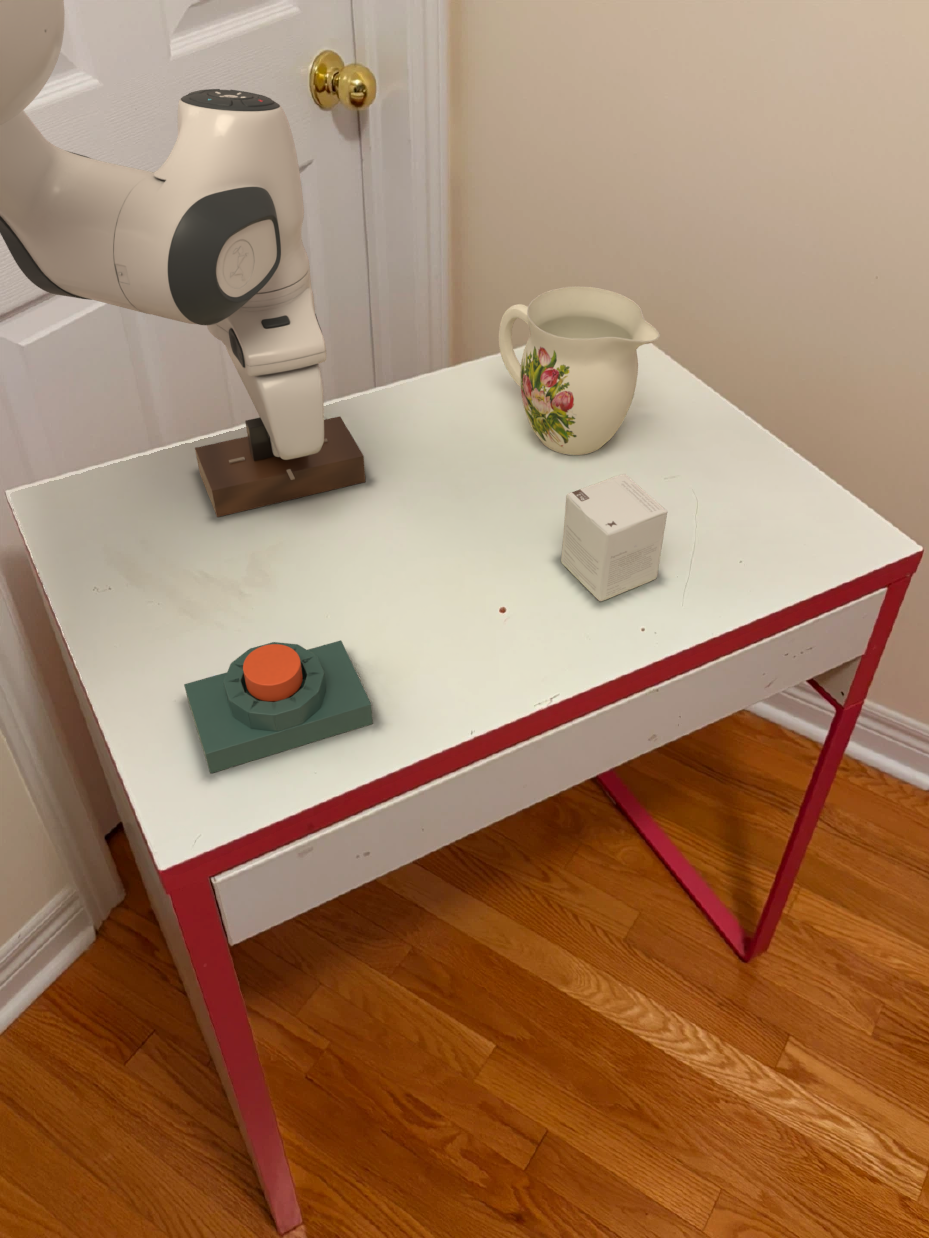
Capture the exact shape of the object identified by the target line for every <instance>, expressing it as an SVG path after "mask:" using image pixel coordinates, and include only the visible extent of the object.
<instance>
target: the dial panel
mask: <svg viewBox="0 0 929 1238" xmlns="http://www.w3.org/2000/svg"><path fill="white" fill-rule="evenodd" d="M194 452H195V457H196V461H197V465H198V471H199V475H200V477H201V481H202V483H203V485H204V488H205V490H206V493H207V496H208V497H209V500H210V503H211V506H212V508H213V511H214V512H215V515H216V518H220V517H224V516H229V515H233V514H236V513H240V512H241V513H242V512H246V511H249V510H254V509H258V508H261V507H266V506H270V505H275V504H278V503H283V502H287V501H292V500H296V499H300V498H304V497H308V496H313V495H317V494H321V493H325V492H329V491H332V490H337V489H342V488H346V487H350V486H355V485H358V484H363V483H366V469H365V468H366V467H365V456H364V454H363V452H362V451H361V449H360V447H359V446H358V444H357V442H356V440H355V439H354V437H353V435H352V433H351V432H350V430H349V429H348V427H347V425H346V424H345V422H344V419H342V417H341V415H340V416H335V417H330V418H326V419H325V418H324V442H323V445H322V448H321V450H320V451H319V452H318V453H315V454H312V455H307V456H303V457H299V458H294V459H289V460H284V459H282V458H281V457H276V456H274V457H270V458H265V459H261V460H256V461H254V460H253V458H252V455H251V453H250V448H249V442H248V436H242V437H238V438H237V437H236V438H234V439H228V440H224V441H219V442H215V443H210V444H204V445H201V446H197V447H194Z"/></svg>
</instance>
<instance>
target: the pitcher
mask: <svg viewBox="0 0 929 1238" xmlns="http://www.w3.org/2000/svg"><path fill="white" fill-rule="evenodd" d="M517 319H519V320H522V321H523V322H524V323H525V324H527V326H528V330H529V336H528V339H527V341H526V344H525V346H524V349H523V352H522V355H521V359H520V362H519V359H518V358H517V356H516V353H515V349H514V344H513V328H514V324H515V321H516V320H517ZM660 336H661V333H660V332H659V330H658V329H657V328H656V327H655V326H654V325H652V324H651V323H650V322H648V321H647V320H646V319H645V317H644V314H643V310H642V308H641V307H640V305H639V304H638V303H637V302H636V301H634V300H632V299H631V298H629V297H627V296H625V295H624V294H621V293H618V292H616V291H612V290H609V289H605V288H600V287H595V286H580V285H579V286H578V285H577V286H565V287H559V288H553V289H550V290H547V291H545V292H543V293H540V294H539V295H537V296H536V297H534V298H533V299H532V300H531V301H530V302H529V303H528V305H525V304H523V303H517V304H513V305H511V306H509V307H508V308H507V309H506V310H505V311H504V313H503V314H502V317H501V319H500V324H499V328H498V347H499V353H500V357H501V360H502V362H503V364H504V366H505V368H506V370H507V372H508V373H509V375H510V376H511V378H512V379H513V381H514V382H515V383H516V384H517V385H518V386H519V389H520V395H521V400H522V405H523V409H524V412H525V416H526V418H527V421H528V423H529V426H530V427H531V429H532V431H533V433H534V434H535V435H536V436H537V438H538V439H539V440H540V442H541V443H542V444H543V446H545V447H546V448H548V449H549V450H552V451H554V452H556V453H559V454H563V455H569V456H581V455H582V456H583V455H587V454H591V453H594V452H596V451H598V450H600V449H601V448H603V446H604V445H605V444H606V443H607V442H609V441H610V440H611V439H612V438H613V437H614V436H615V435H616V433H617V432H618V430H619V429H620V427H621V426H622V424H623V422H624V420H625V419H626V417H627V414H628V413H629V410H630V408H631V405H632V402H633V400H634V396H635V393H636V388H637V381H638V375H639V358H638V351H637V350H638V349H639V347H642V346H644V345H650V344H652V343H655V342H657V341H658V340H659V339H660Z"/></svg>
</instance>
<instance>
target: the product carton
mask: <svg viewBox="0 0 929 1238" xmlns="http://www.w3.org/2000/svg"><path fill="white" fill-rule="evenodd" d="M667 517H668V510H667V509H665V508H664V507H663V506H662V505H661V504H660V503H659V502H657V500H655V499H654V497H652V496H651V495H649V493H648V492H646V490H644V489H643V488H641V487H640V486H639V485H638V484H637V483H636V482H635V481H634V480H633V479H632V478H631V477H630V476H629V475H627V474H626V473H622V474H618V475H615V476H612V477H610V478H607V479H604V480H602V481H599V482H596V483H593V484H591V485H587V486H584V487H581V488H580V489H576V490H574V491H571V492H568V493H567V494H566V495H565V507H564V521H563V533H562V544H561V545H562V546H561V557H560V563H561V564H562V565H563V566H564V567H565V568H566V569H567V570H568V571H569V572H570V573H571V574H572V575H573V576H574V577H575V578H576V579H577V580H578V581H579V583H581V585H583V586H584V587H585V588H586V590H588V592H589V593H590V594H592V595H593V597H595V598H596V599H597V601H599V602H603V601H605V600H608V599H611V598H613V597H615V596H618V595H620V594H623V593H625V592H627V591H631V590H633V589H635V588H638V587H641V586H643V585H645V584H648V583H650V582H653V581H654V580H656V579H657V578H658V574H659V567H660V563H661V562H660V561H661V555H662V549H663V542H664V536H665V531H666V523H667Z"/></svg>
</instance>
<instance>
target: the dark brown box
mask: <svg viewBox="0 0 929 1238" xmlns="http://www.w3.org/2000/svg"><path fill="white" fill-rule="evenodd" d="M244 423H245V429H246V435H247V436H248V442H249V448H250V453H251V455H252V458H253V460H254V461H256V460H261V459H265V458H270V457H274V454H273V452H272V450H271V448H270V445H269V438H268V432H267V430H266V428H265V426H264V424H263V422H262V420H261V418H259V417H255V418H251V419H245V421H244ZM247 436H246V437H247Z"/></svg>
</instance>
